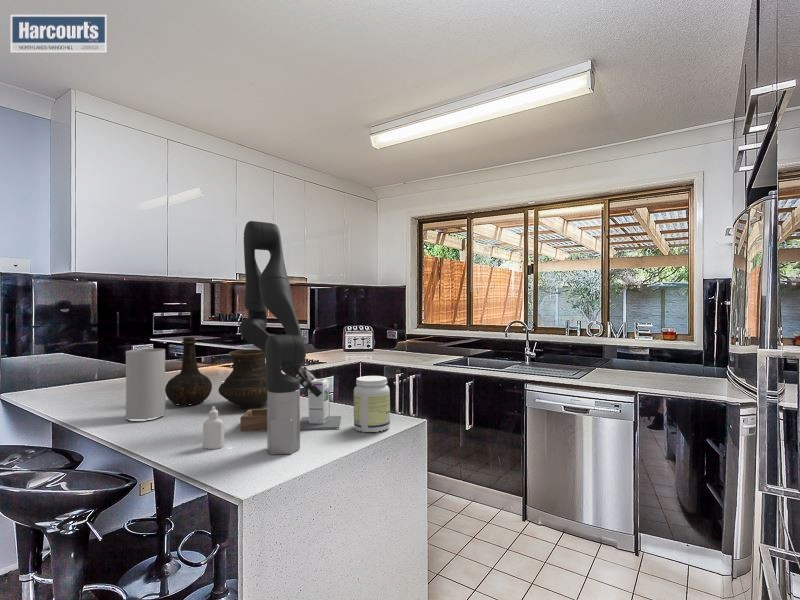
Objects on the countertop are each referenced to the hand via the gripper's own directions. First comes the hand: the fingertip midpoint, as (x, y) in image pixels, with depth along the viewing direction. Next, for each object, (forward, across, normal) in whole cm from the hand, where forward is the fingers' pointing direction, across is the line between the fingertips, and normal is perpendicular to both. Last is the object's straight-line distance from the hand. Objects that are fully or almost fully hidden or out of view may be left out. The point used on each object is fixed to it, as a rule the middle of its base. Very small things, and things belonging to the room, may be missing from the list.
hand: (320, 392), depth 151 cm
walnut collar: (-7, 0, +22) cm, 23 cm away
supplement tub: (+20, -7, -4) cm, 22 cm away
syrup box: (+7, 0, +8) cm, 10 cm away
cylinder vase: (-38, +15, +54) cm, 68 cm away
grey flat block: (+8, 0, +8) cm, 11 cm away
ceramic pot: (-14, +30, +30) cm, 45 cm away
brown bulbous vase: (-33, +37, +49) cm, 70 cm away
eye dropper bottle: (-13, -21, +29) cm, 38 cm away
